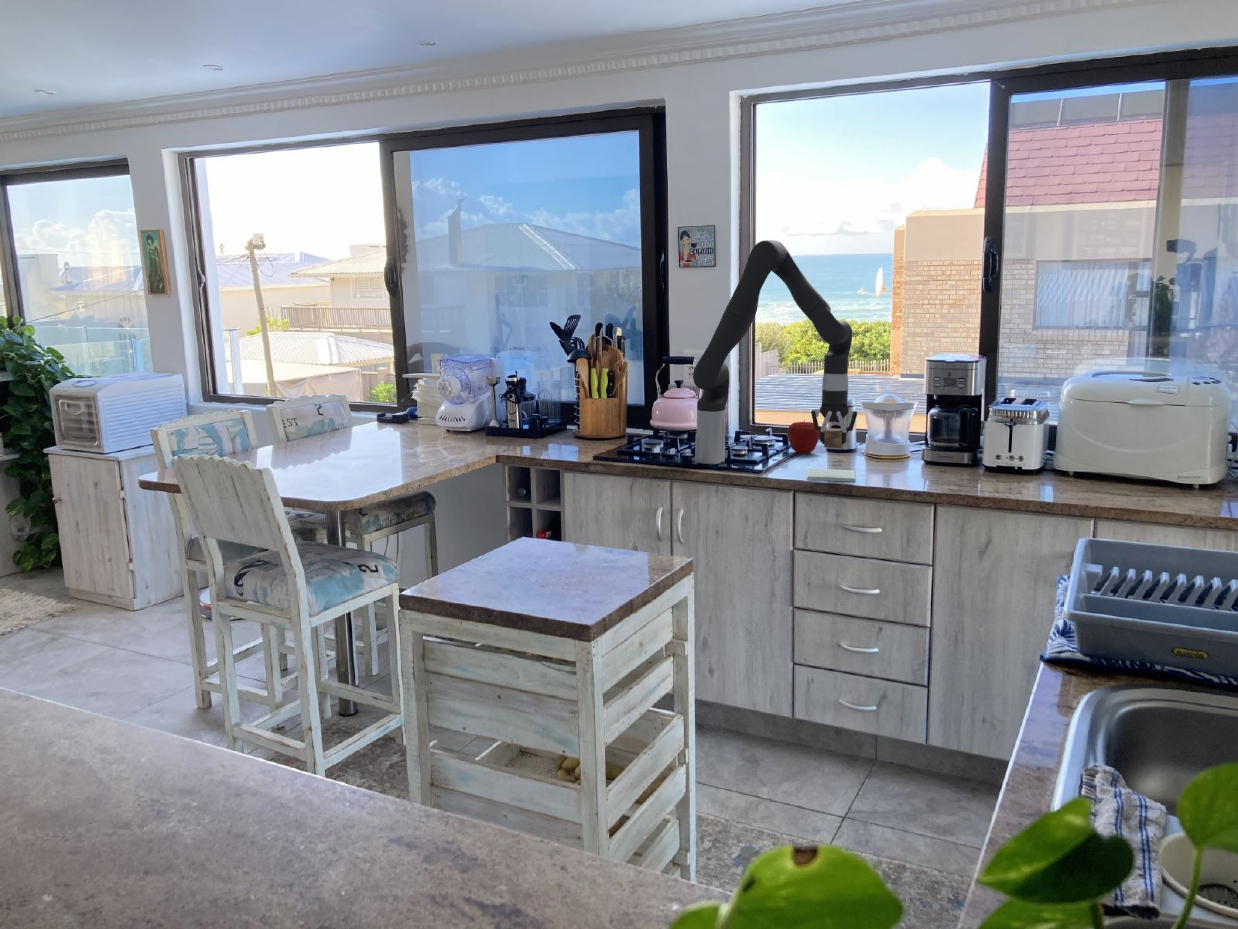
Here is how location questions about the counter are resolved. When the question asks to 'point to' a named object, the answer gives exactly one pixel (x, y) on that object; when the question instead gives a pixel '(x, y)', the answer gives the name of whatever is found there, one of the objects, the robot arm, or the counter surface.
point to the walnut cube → (833, 438)
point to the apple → (803, 437)
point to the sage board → (831, 475)
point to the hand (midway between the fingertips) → (832, 444)
